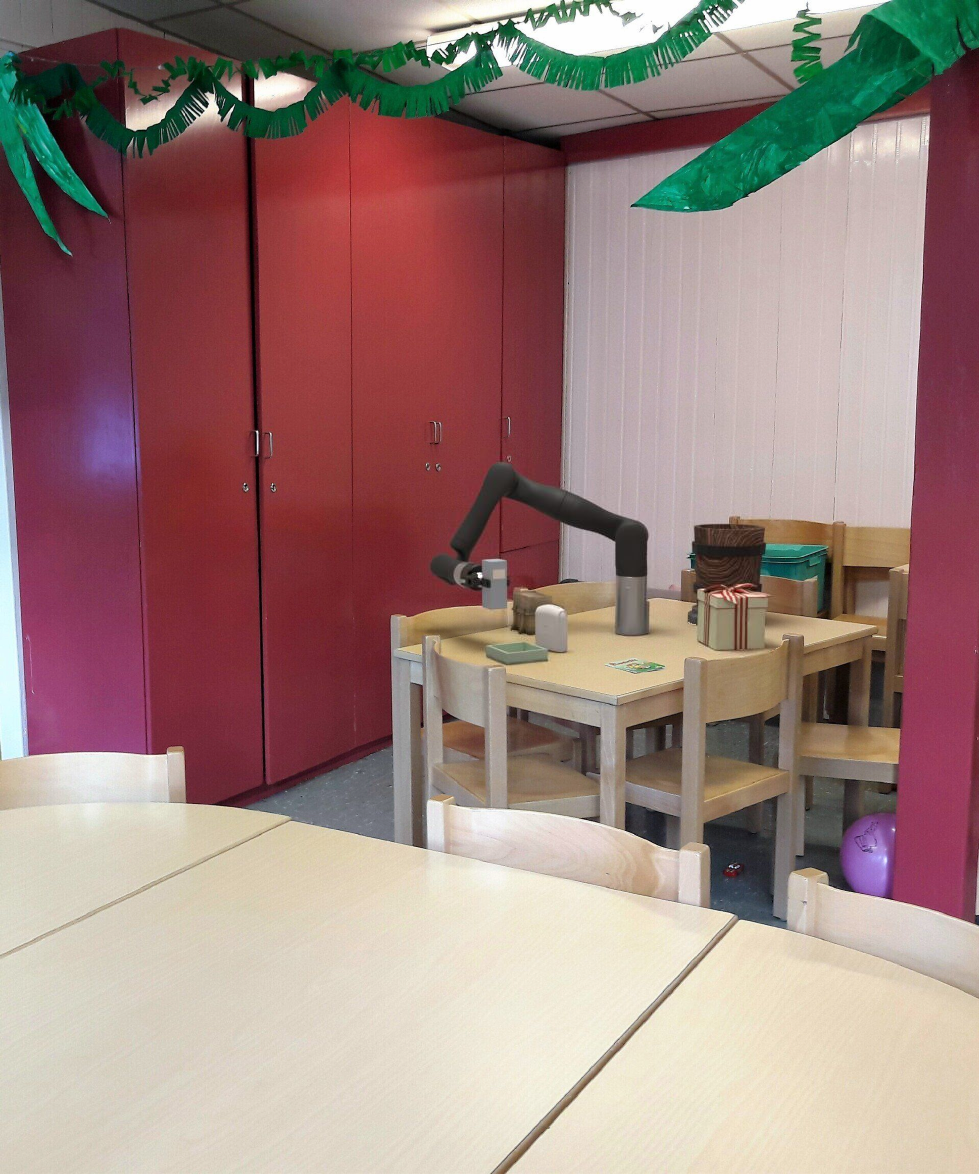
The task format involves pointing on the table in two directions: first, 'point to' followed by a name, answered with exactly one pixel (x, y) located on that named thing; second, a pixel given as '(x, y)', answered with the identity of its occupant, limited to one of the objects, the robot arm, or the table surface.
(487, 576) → the box
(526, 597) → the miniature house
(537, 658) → the tray
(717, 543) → the wooden barrel
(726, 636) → the gift box
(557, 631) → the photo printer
